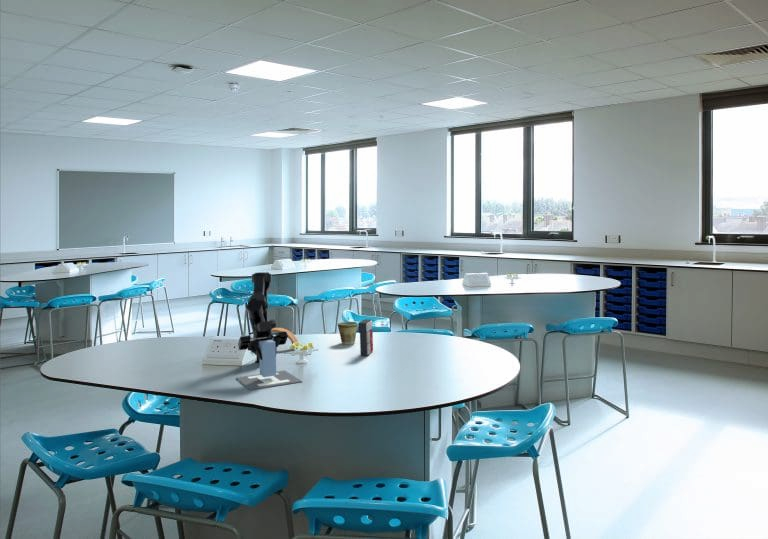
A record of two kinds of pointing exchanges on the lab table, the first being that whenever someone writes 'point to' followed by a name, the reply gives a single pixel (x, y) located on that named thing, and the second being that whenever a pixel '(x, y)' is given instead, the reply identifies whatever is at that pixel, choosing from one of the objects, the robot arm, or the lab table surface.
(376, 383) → the lab table surface
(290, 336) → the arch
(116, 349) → the lab table surface
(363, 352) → the black and red box
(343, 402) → the lab table surface
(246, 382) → the letter mat
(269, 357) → the blue block
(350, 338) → the ceramic cup
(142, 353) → the lab table surface
